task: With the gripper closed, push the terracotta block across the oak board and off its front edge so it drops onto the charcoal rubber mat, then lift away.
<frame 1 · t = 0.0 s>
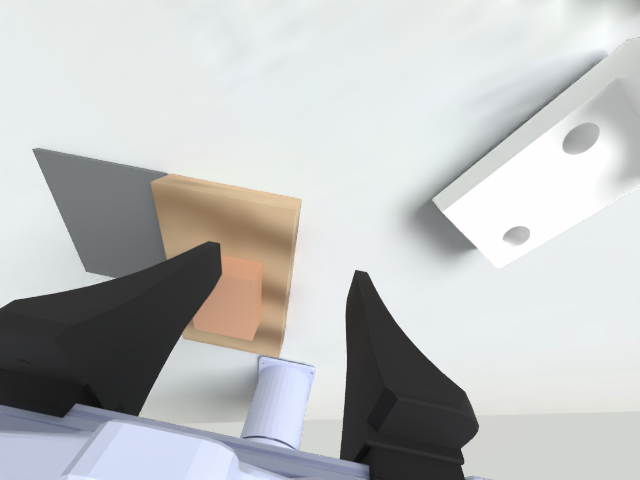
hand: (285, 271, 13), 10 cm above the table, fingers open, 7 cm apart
block: (232, 289, 24), point 2 cm above the table, touching board
mat: (122, 228, 25), on the table
board: (237, 273, 27), on the table
bracket: (529, 164, 18), on the table
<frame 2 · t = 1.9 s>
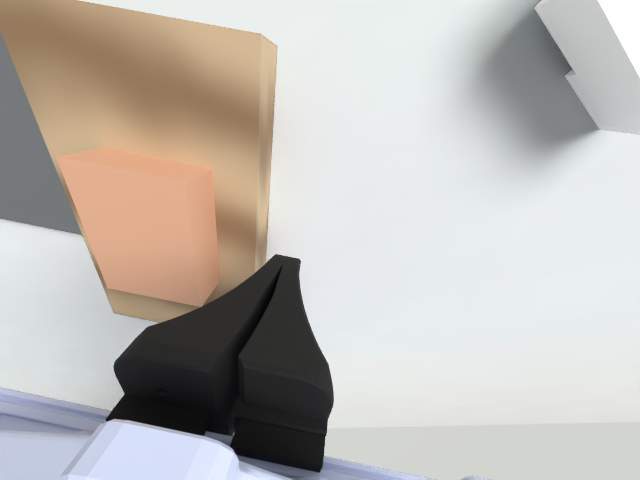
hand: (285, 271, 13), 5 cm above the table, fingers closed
block: (169, 223, 15), point 2 cm above the table, touching board
board: (185, 206, 17), on the table
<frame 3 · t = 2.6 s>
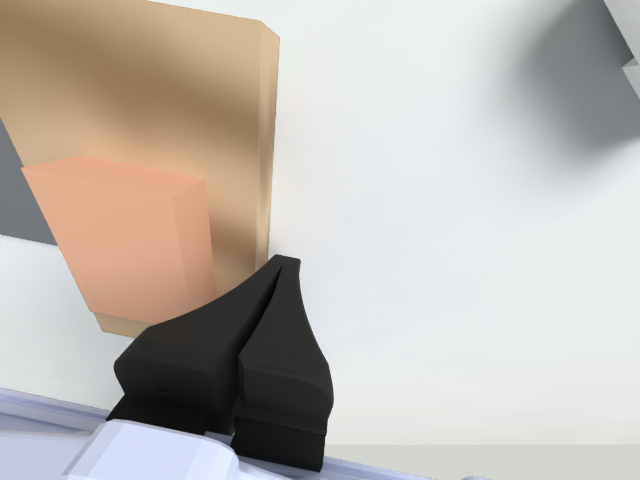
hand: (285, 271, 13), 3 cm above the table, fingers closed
block: (159, 238, 13), point 2 cm above the table, touching board
board: (178, 217, 16), on the table
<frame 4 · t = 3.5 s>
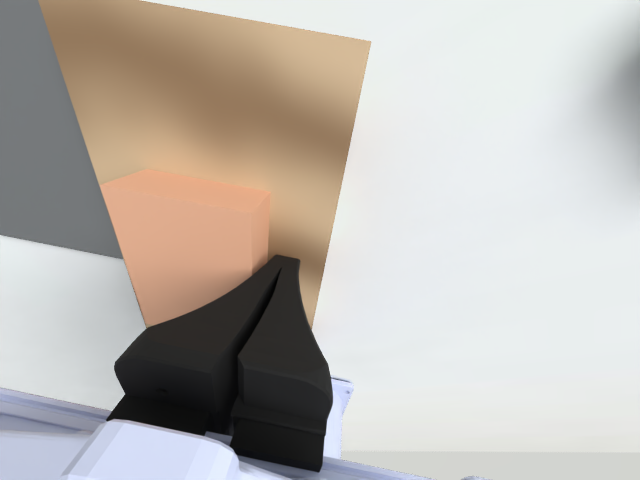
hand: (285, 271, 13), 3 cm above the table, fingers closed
block: (214, 250, 13), point 3 cm above the table, touching board
mat: (32, 146, 14), on the table
board: (236, 229, 16), on the table
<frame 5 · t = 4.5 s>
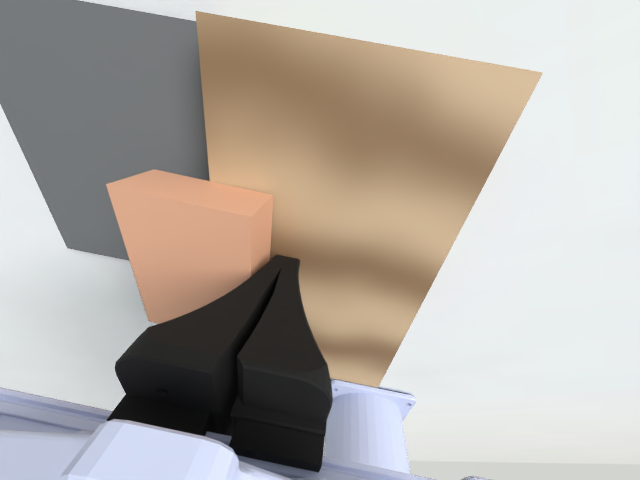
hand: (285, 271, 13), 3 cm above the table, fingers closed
block: (218, 251, 13), point 3 cm above the table, touching gripper
mat: (128, 164, 14), on the table
board: (325, 246, 15), on the table
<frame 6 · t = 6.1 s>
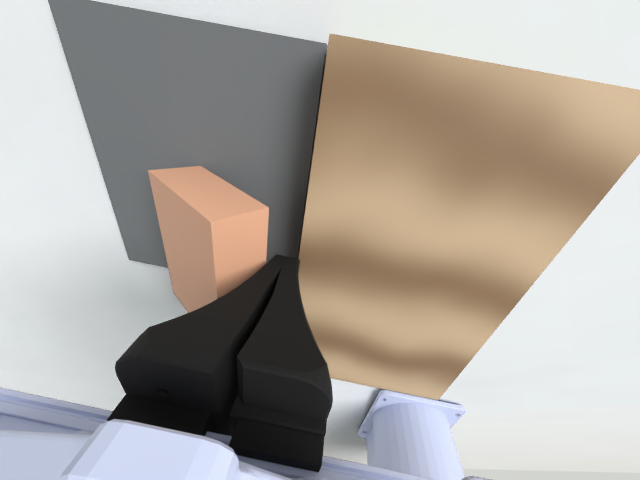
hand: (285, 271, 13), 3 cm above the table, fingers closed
block: (232, 251, 14), point 2 cm above the table, tilted 36°, touching gripper, mat
mat: (205, 178, 14), on the table
board: (397, 260, 15), on the table
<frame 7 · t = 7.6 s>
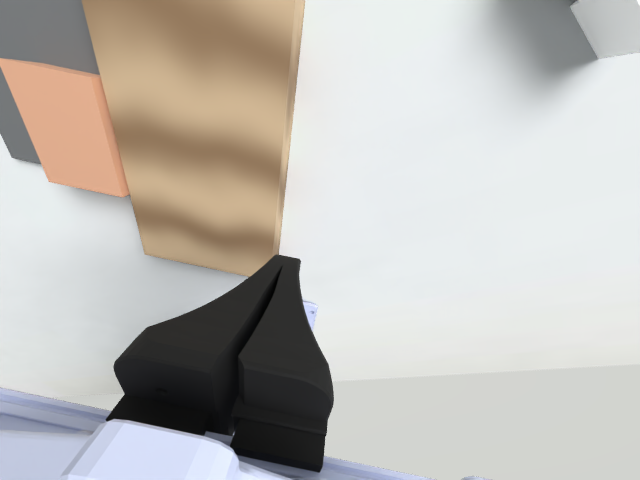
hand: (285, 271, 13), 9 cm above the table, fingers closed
block: (99, 131, 19), resting on mat
mat: (52, 77, 18), on the table
board: (215, 152, 19), on the table
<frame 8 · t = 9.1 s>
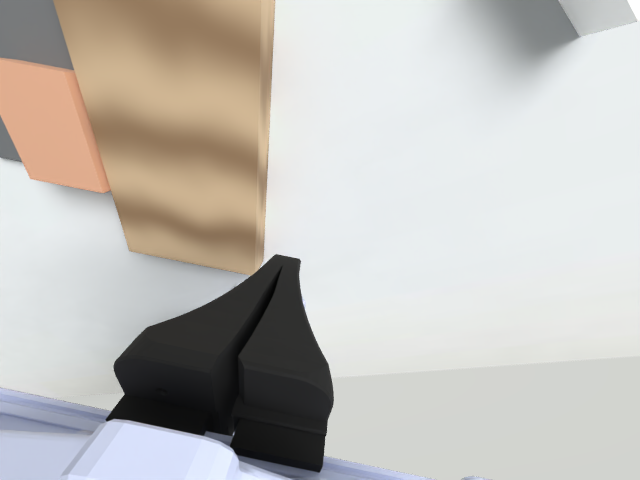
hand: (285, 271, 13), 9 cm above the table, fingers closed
block: (79, 128, 19), resting on mat
mat: (31, 74, 18), on the table
board: (195, 147, 19), on the table
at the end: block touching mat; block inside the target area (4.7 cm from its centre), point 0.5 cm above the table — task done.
